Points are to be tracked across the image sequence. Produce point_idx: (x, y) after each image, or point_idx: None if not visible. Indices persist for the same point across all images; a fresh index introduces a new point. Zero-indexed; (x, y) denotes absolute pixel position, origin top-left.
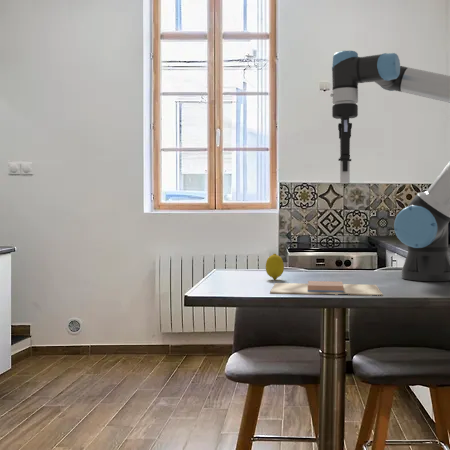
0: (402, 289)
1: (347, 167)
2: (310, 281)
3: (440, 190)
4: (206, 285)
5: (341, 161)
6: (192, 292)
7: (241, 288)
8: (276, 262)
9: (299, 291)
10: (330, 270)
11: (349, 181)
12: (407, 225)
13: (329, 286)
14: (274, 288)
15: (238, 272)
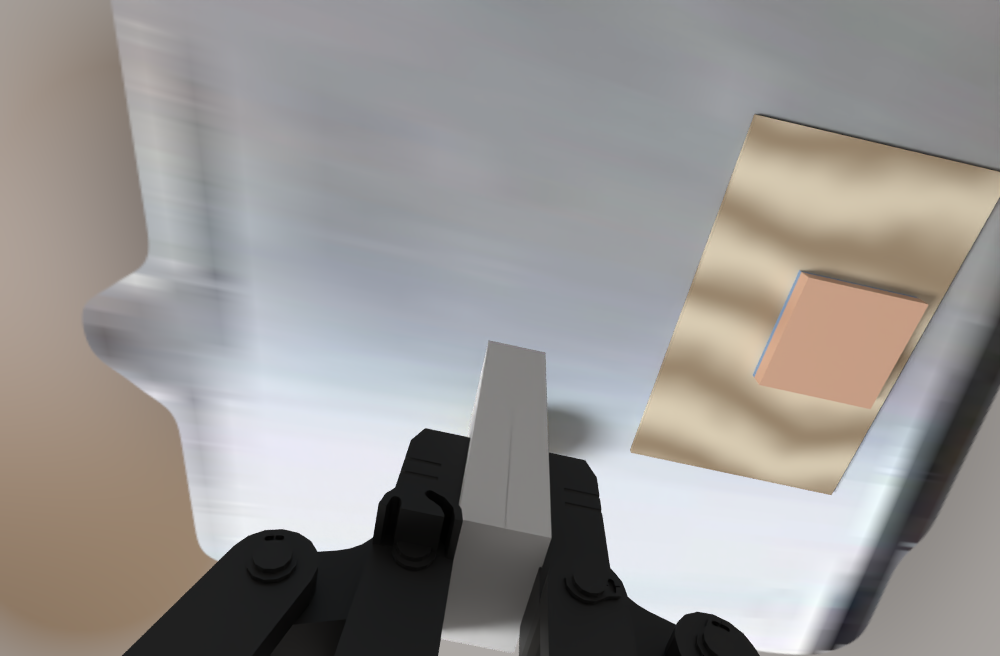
0: (877, 29)
1: (580, 494)
2: (772, 380)
3: None
4: None
5: (517, 635)
6: None
7: (699, 543)
8: None
9: (848, 419)
10: (162, 157)
11: (544, 359)
12: None
13: (903, 345)
14: (760, 473)
15: (278, 510)
